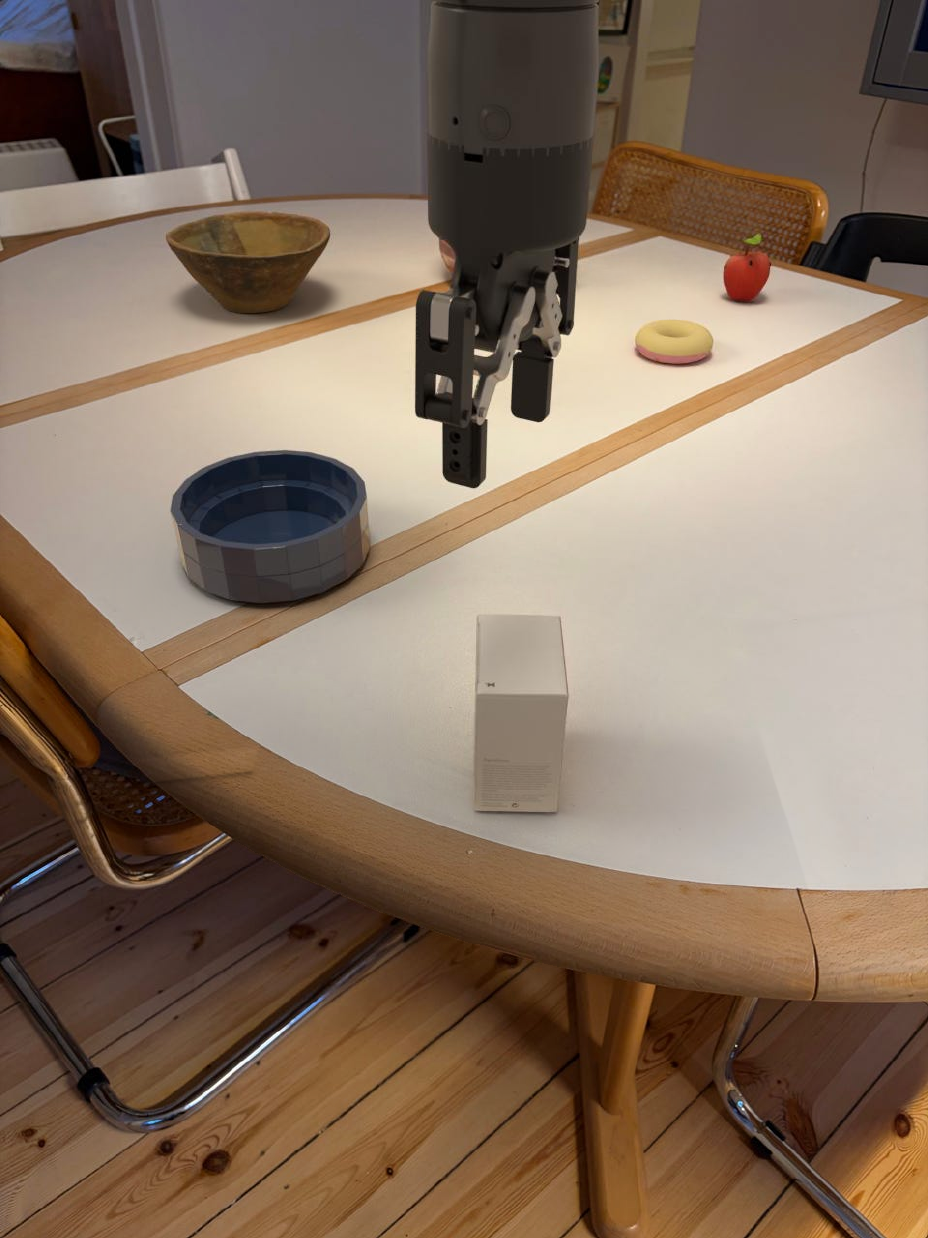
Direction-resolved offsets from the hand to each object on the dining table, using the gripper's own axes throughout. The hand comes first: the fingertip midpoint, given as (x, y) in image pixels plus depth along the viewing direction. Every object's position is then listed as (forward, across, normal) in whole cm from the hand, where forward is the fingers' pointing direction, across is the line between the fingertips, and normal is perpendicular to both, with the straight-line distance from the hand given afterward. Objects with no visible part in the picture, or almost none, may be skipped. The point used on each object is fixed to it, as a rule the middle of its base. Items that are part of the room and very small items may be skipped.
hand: (498, 448), depth 52 cm
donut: (+23, -75, -9) cm, 79 cm away
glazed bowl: (+23, -13, -27) cm, 38 cm away
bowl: (+23, -64, -68) cm, 97 cm away
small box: (+23, +2, +3) cm, 24 cm away
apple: (+23, -100, -6) cm, 102 cm away
